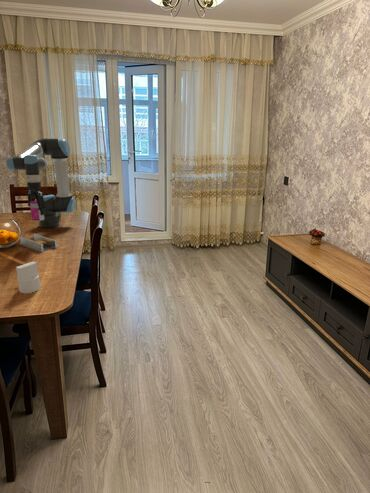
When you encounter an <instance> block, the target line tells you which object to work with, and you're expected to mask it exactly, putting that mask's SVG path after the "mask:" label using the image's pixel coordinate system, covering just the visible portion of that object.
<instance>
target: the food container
mask: <svg viewBox="0 0 370 493" xmlns="http://www.w3.org/2000/svg"><path fill="white" fill-rule="evenodd" d="M56 215H57V218H58V220H59V221H61V220H62V212H56Z"/></svg>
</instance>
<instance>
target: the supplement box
mask: <svg viewBox="0 0 370 493" xmlns="http://www.w3.org/2000/svg"><path fill="white" fill-rule="evenodd" d="M40 208H41V207H40ZM29 209H30V215H31V220H32V221H39V211H38V209H39V207H38V204H37V201H36V199H35V200H34V201H31V202H30V206H29Z"/></svg>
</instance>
